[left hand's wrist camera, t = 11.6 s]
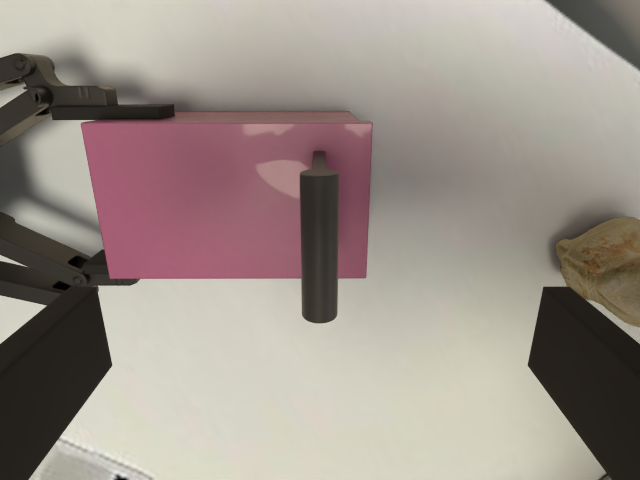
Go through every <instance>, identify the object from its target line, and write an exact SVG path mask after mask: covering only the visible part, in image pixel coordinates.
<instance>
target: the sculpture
mask: <svg viewBox="0 0 640 480" xmlns="http://www.w3.org/2000/svg"><path fill="white" fill-rule="evenodd" d="M556 253H557V257H558V258H559V259H560V261H561V267H560V270H561V273H562V276H563V278H564V279H565V282H566V285H567V287H570V288H572V289H573V290H574V291H575V292H577V293H578V294H579V295H580V296H581V297H583V298H584V299H586V300H592V301H595V302H597V303H599V304H601V305H603V306H604V307H605V308H606V309H607V310H609V311H610V312H611V313H613V314H614V315H615V316H617V317H618V318H620V319H621V320H622V321H624V322H625V323H627V324H629V325H633V326H636V327H640V221H639V220H638V219H636V218H633V217H618V218H614V219H611V220H608V221H605V222H603V223H601V224H599V225H597V226H595V227H593V228H591V229H590V230H588V231H587V232H585V233H584V234H582V235H580V236H579V237H577V238H574V239H571V240H569V239H562V240H560V241H559V242H558V243H557V244H556Z"/></svg>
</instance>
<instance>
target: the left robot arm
mask: <svg viewBox="0 0 640 480" xmlns="http://www.w3.org/2000/svg"><path fill="white" fill-rule="evenodd" d="M111 366H112V362H111V357H110V352H109V347H108V342H107V337H106V332H105V327H104V322H103V317H102V312H101V307H100V302H99V297H98V292H97V287H70V288H68V289H67V290H66V291H65V292H63V293H62V294H61V295H60V296H59V297H57V298H56V299H55V300H54V301H52V302H51V303H50V304H49V305H48V306H46V307H45V308H44V309H43V310H41V311H40V312H39V313H38V314H37V315H35V316H34V317H33V318H32V319H30V320H29V321H28V322H27V323H26V324H24V325H23V326H22V327H21V328H19V329H18V330H17V331H16V332H15V333H13V334H12V335H11V336H10V337H8V338H7V339H6V340H5V341H4V342H2V343H1V344H0V480H28V479H29V478H30V477H31V475H32V474H33V473H34V471H35V470H36V469H37V467H38V466H39V464H40V463H41V462H42V460H43V459H44V458H45V456H46V455H47V454H48V452H49V451H50V449H51V448H52V447H53V445H54V444H55V443H56V441H57V440H58V439H59V437H60V436H61V434H62V433H63V432H64V430H65V429H66V428H67V426H68V425H69V424H70V422H71V421H72V420H73V418H74V417H75V415H76V414H77V413H78V411H79V410H80V409H81V407H82V406H83V405H84V403H85V402H86V400H87V399H88V398H89V396H90V395H91V394H92V392H93V391H94V390H95V388H96V387H97V385H98V384H99V383H100V381H101V380H102V379H103V377H104V376H105V375H106V373H107V372H108V371H109V369H110V368H111ZM528 366H529V368H530V369H531V371H532V372H533V373H534V375H535V376H536V377H537V379H538V380H539V381H540V383H541V384H542V385H543V387H544V388H545V390H546V391H547V392H548V394H549V395H550V396H551V398H552V399H553V400H554V402H555V403H556V405H557V406H558V407H559V409H560V410H561V411H562V413H563V414H564V415H565V417H566V418H567V420H568V421H569V422H570V424H571V425H572V426H573V428H574V429H575V430H576V432H577V433H578V434H579V436H580V437H581V439H582V440H583V441H584V443H585V444H586V445H587V447H588V448H589V449H590V451H591V452H592V454H593V455H594V456H595V458H596V459H597V460H598V462H599V463H600V464H601V466H602V467H603V469H604V470H605V471H606V473H607V474H608V476H606V477H605V478H604V479H602V480H640V344H639V343H638V342H636V341H635V340H634V339H633V338H632V337H630V336H629V335H628V334H627V333H625V332H624V331H623V330H622V329H621V328H619V327H618V326H617V325H616V324H614V323H613V322H612V321H611V320H610V319H608V318H607V317H606V316H605V315H603V314H602V313H601V312H600V311H599V310H597V309H596V308H595V307H594V306H592V305H591V304H590V303H589V302H588V301H586V300H585V299H584V298H583V297H581V296H580V295H579V294H578V293H577V292H575V291H574V290H573V289H572V288H570V287H543V292H542V297H541V302H540V307H539V312H538V317H537V322H536V327H535V332H534V337H533V342H532V347H531V352H530V357H529V362H528Z"/></svg>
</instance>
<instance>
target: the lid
mask: <svg viewBox="0 0 640 480" xmlns="http://www.w3.org/2000/svg"><path fill="white" fill-rule="evenodd" d="M81 128H82V133H83V138H84V144H85V149H86V154H87V160H88V165H89V170H90V176H91V181H92V186H93V192H94V197H95V202H96V208H97V213H98V218H99V223H100V229H101V234H102V239H103V245H104V250H105V255H106V261H107V266H108V271H109V277H110V279H223V278H301V280H302V316H303V317H304V319H306V320H307V321H309V322H313V323H327V322H330V321H332V320H334V319H335V318H336V316H337V296H338V278H366V271H367V246H368V221H369V196H370V171H371V146H372V122H370V121H89V122H83V123H81Z"/></svg>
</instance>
